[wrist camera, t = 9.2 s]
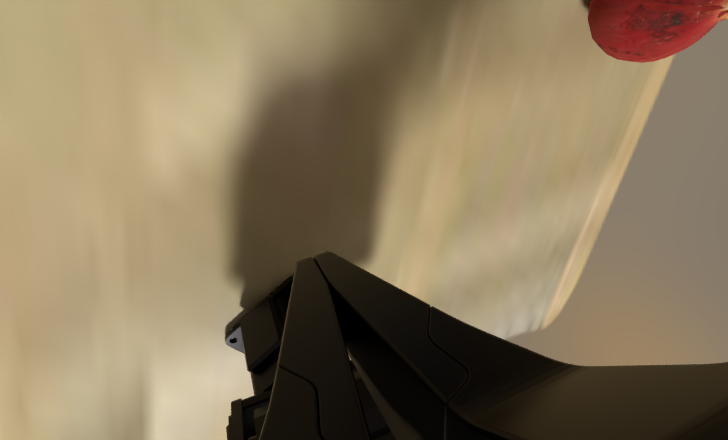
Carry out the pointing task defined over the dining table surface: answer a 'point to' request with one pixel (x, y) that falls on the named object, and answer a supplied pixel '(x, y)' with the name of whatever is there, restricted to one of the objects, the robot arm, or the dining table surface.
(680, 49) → the red oval piece
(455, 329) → the robot arm
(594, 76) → the dining table surface
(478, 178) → the dining table surface
